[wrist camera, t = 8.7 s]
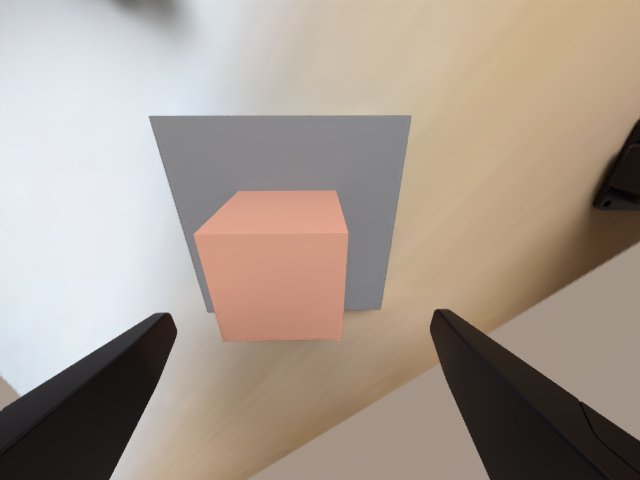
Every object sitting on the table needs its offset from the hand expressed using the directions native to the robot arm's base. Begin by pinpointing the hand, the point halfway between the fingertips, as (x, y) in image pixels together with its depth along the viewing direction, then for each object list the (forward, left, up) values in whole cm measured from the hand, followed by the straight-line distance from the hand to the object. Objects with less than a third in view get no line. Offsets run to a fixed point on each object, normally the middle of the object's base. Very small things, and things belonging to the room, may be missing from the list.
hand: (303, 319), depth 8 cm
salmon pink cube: (+1, +1, -8) cm, 8 cm away
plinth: (+1, +1, -11) cm, 11 cm away
